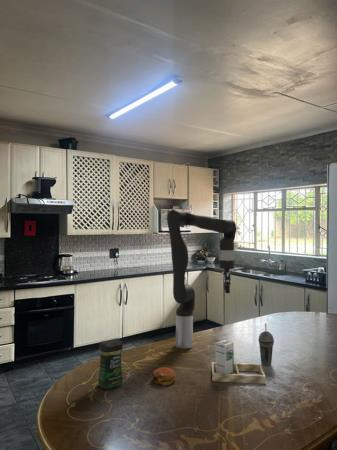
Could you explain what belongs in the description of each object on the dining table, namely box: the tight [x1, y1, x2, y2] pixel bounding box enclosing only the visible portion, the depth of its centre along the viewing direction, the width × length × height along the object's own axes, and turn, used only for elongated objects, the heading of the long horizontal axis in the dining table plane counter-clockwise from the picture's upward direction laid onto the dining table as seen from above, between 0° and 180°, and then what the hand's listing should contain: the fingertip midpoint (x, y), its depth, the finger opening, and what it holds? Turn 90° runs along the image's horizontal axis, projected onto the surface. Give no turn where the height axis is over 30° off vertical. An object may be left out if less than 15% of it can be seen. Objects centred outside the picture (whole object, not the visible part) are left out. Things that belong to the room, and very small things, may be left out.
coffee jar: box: [97, 337, 124, 390], centre depth 143 cm, size 10×8×19 cm
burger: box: [152, 366, 177, 386], centre depth 147 cm, size 10×9×5 cm
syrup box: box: [215, 339, 235, 374], centre depth 153 cm, size 6×6×14 cm
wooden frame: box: [211, 361, 267, 384], centre depth 152 cm, size 22×13×3 cm, turn 84°
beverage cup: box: [257, 322, 275, 367], centre depth 164 cm, size 7×7×20 cm
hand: (226, 291), depth 173 cm, fingers open, 8 cm apart
